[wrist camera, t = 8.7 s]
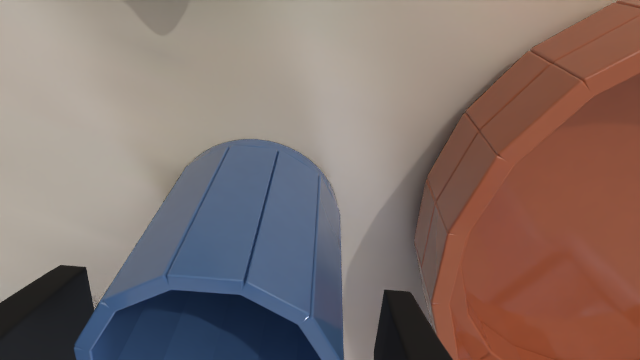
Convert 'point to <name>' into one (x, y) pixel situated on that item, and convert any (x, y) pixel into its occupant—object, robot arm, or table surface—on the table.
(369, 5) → the table surface
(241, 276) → the blue cup
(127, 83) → the table surface
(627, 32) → the bowl
